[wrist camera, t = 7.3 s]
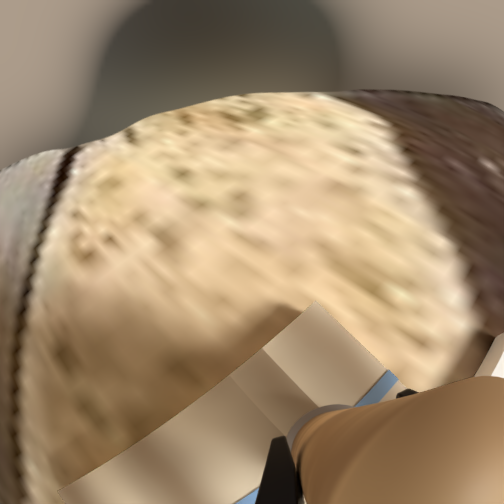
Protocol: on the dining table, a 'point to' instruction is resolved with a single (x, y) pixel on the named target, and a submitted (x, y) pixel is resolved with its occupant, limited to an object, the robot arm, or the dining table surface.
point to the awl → (406, 448)
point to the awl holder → (493, 359)
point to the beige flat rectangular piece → (242, 420)
